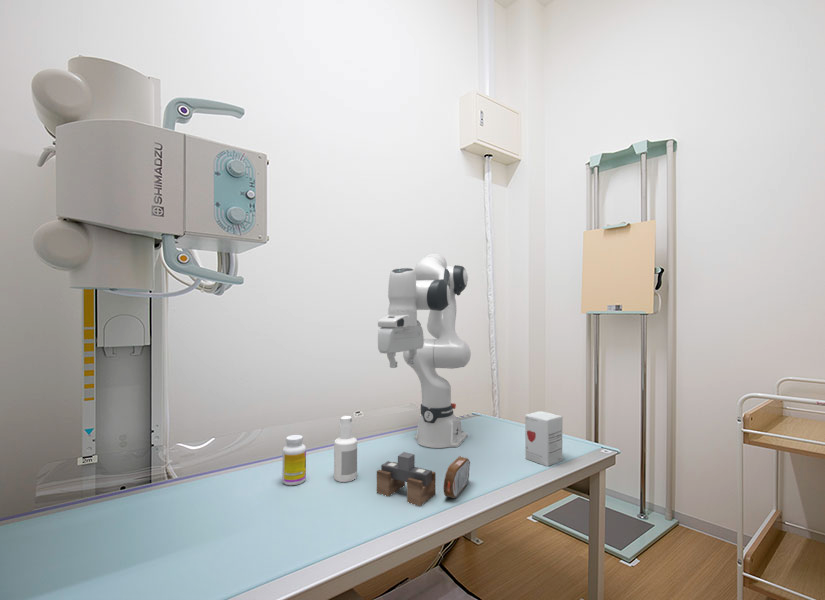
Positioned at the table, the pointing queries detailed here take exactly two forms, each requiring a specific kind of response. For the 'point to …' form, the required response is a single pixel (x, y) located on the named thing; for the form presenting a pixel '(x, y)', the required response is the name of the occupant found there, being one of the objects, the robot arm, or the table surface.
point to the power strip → (408, 474)
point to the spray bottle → (345, 452)
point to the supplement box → (543, 438)
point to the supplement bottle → (294, 461)
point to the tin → (456, 477)
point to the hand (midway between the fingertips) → (402, 365)
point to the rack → (414, 487)
